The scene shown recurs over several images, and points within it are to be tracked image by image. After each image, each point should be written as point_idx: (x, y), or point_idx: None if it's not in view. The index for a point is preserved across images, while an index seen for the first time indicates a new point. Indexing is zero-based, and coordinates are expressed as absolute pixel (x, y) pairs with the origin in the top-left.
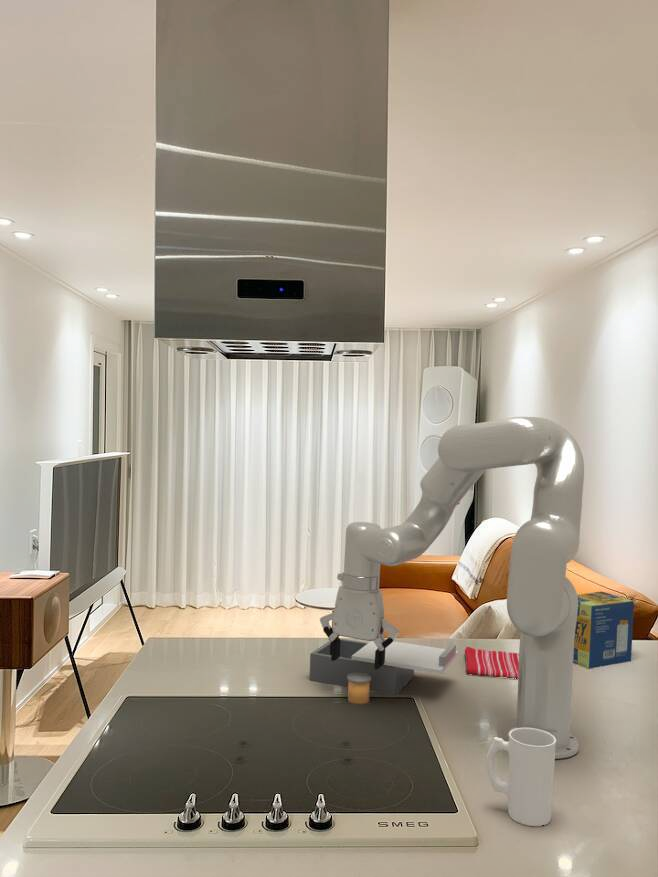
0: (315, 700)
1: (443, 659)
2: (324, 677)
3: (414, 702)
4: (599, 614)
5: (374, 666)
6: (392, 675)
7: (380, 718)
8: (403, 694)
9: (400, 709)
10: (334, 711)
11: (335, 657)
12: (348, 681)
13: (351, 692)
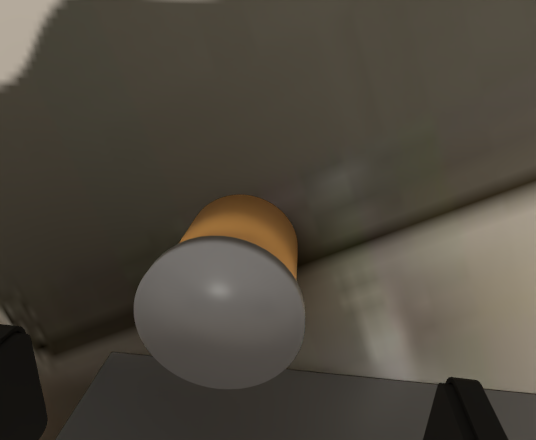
0: (470, 152)
1: None
2: None
3: (4, 309)
4: None
5: (12, 340)
6: (79, 430)
7: (36, 43)
8: (86, 373)
9: (13, 209)
10: (312, 28)
11: (442, 418)
12: (344, 396)
13: (260, 221)
